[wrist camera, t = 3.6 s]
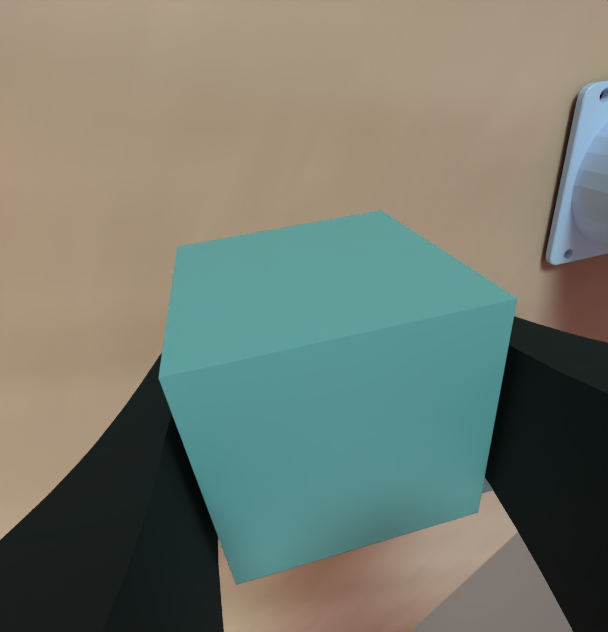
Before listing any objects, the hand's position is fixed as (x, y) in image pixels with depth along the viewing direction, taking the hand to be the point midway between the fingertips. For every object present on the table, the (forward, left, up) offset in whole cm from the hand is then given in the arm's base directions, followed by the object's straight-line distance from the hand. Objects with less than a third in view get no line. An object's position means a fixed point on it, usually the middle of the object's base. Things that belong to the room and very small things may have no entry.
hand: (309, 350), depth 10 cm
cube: (0, 0, -2) cm, 2 cm away
